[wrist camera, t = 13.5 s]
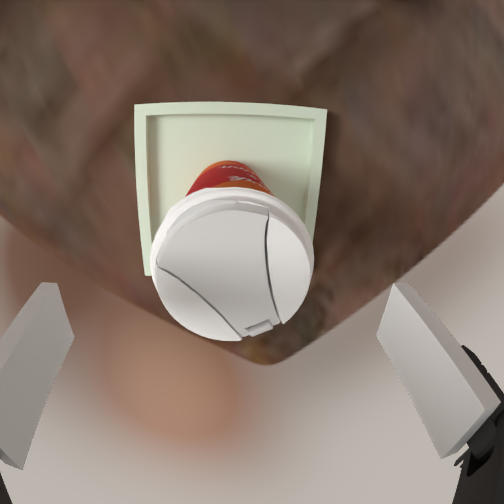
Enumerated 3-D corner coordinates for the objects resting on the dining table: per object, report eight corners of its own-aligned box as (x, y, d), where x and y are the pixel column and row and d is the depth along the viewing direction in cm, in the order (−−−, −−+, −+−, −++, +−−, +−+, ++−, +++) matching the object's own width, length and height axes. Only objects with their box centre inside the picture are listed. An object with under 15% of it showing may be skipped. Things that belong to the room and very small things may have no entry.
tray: (148, 267, 31) (145, 275, 30) (139, 104, 24) (134, 104, 23) (304, 267, 33) (307, 275, 31) (321, 108, 26) (327, 109, 24)
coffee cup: (287, 213, 29) (340, 312, 16) (207, 248, 30) (199, 366, 17) (250, 130, 25) (283, 160, 12) (164, 171, 26) (109, 243, 13)
